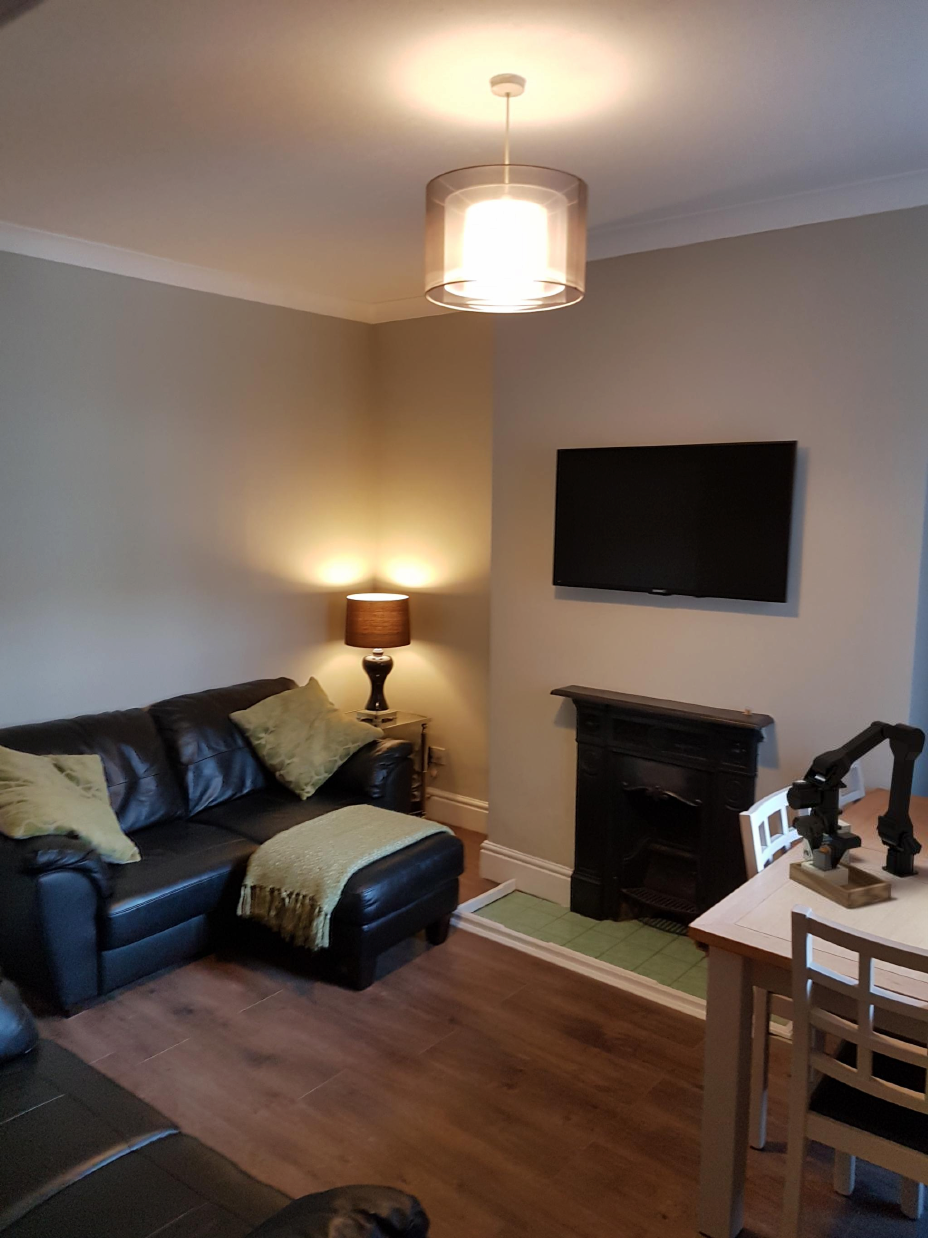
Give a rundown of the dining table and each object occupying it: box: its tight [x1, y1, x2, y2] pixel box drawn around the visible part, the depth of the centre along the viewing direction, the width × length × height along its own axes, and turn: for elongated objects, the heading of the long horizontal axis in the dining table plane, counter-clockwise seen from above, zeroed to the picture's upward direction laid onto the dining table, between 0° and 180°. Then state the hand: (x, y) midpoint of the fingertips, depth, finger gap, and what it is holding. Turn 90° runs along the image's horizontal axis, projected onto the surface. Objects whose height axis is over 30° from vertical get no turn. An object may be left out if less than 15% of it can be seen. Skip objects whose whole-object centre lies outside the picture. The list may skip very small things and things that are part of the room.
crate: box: [788, 859, 892, 909], centre depth 233 cm, size 14×20×4 cm
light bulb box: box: [802, 818, 852, 864], centre depth 251 cm, size 11×7×11 cm, turn 105°
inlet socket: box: [801, 861, 848, 886], centre depth 236 cm, size 8×8×4 cm
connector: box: [813, 846, 836, 872], centre depth 236 cm, size 4×4×9 cm
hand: (824, 864), depth 236 cm, fingers open, 6 cm apart
